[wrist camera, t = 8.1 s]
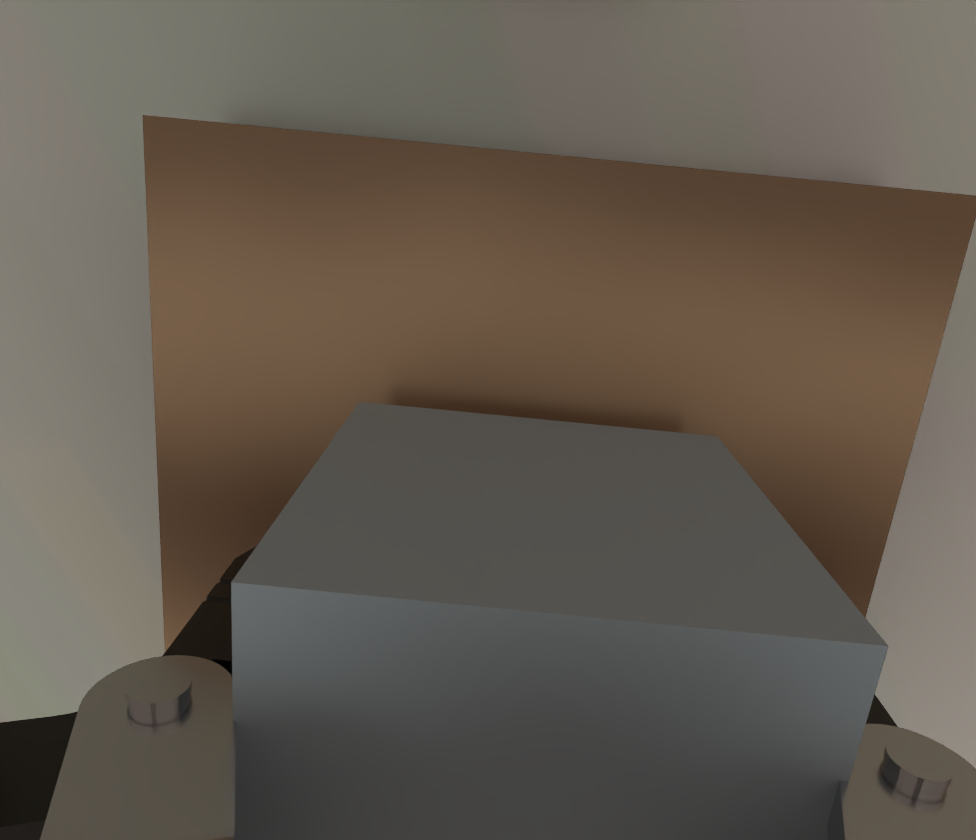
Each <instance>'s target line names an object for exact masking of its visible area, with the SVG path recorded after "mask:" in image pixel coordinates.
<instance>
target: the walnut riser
mask: <svg viewBox="0 0 976 840" xmlns="http://www.w3.org/2000/svg"><path fill="white" fill-rule="evenodd" d="M143 133H144V157H145V182H146V206H147V230H148V254H149V278H150V302H151V326H152V351H153V375H154V399H155V423H156V447H157V471H158V495H159V520H160V544H161V568H162V592H163V616H164V640H165V652H166V650H167V649H168V648H169V646H170V645H171V644H172V642H173V641H174V640H175V638H176V637H177V636H178V634H179V633H180V632H181V630H182V629H183V628H184V626H185V625H186V624H187V622H188V621H189V620H190V618H191V617H192V616H193V614H194V613H195V612H196V610H197V609H198V608H199V606H200V605H201V603H202V602H203V601H206V599H207V595H208V594H209V593H210V591H211V590H212V589H213V587H214V586H215V585H216V583H219V582H220V578H221V577H222V575H223V574H224V573H225V571H226V570H227V569H228V567H229V566H230V565H231V563H232V562H233V561H234V559H235V558H236V557H238V556H240V555H241V554H243V553H245V552H247V551H248V550H250V549H252V548H254V547H255V546H257V545H258V544H259V542H260V541H261V540H262V538H263V537H264V535H265V534H266V532H267V531H268V530H269V528H270V527H271V525H272V524H273V523H274V521H275V520H276V518H277V517H278V516H279V514H280V513H281V511H282V510H283V508H284V507H285V506H286V504H287V503H288V501H289V500H290V499H291V497H292V496H293V494H294V493H295V492H296V490H297V489H298V487H299V486H300V485H301V483H302V482H303V480H304V479H305V477H306V476H307V475H308V473H309V472H310V470H311V469H312V468H313V466H314V465H315V463H316V462H317V461H318V459H319V458H320V456H321V455H322V453H323V452H324V451H325V449H326V448H327V446H328V445H329V444H330V442H331V441H332V439H333V438H334V437H335V435H336V434H337V432H338V431H339V430H340V428H341V427H342V425H343V424H344V422H345V421H346V420H347V418H348V417H349V415H350V414H351V413H352V411H353V410H354V408H355V407H356V406H357V404H358V403H359V402H368V403H378V404H388V405H399V406H409V407H419V408H430V409H440V410H450V411H461V412H471V413H481V414H492V415H502V416H513V417H523V418H533V419H544V420H554V421H564V422H575V423H585V424H595V425H606V426H616V427H626V428H637V429H647V430H658V431H668V432H678V433H689V434H699V435H709V436H717V437H718V438H719V439H720V440H721V442H722V443H723V444H724V445H725V447H726V448H727V449H728V450H729V451H730V453H731V454H732V455H733V456H734V458H735V459H736V460H737V461H738V462H739V464H740V465H741V466H742V467H743V469H744V470H745V471H746V472H747V474H748V475H749V476H750V477H751V478H752V480H753V481H754V482H755V483H756V485H757V486H758V487H759V488H760V489H761V491H762V492H763V493H764V494H765V496H766V497H767V498H768V499H769V500H770V502H771V503H772V504H773V505H774V507H775V508H776V509H777V510H778V512H779V513H780V514H781V515H782V516H783V518H784V519H785V520H786V521H787V523H788V524H789V525H790V526H791V527H792V529H793V530H794V531H795V532H796V534H797V535H798V536H799V537H800V539H801V540H802V541H803V542H804V543H805V545H806V546H807V547H808V548H809V550H810V551H811V552H812V553H813V554H814V556H815V557H816V558H817V559H818V561H819V562H820V563H821V564H822V565H823V567H824V568H825V569H826V570H827V572H828V573H829V574H830V575H831V577H832V578H833V579H834V580H835V581H836V583H837V584H838V585H839V586H840V588H841V589H842V590H843V591H844V592H845V594H846V595H847V596H848V597H849V599H850V600H851V601H852V602H853V604H854V605H855V606H856V607H857V608H858V610H859V611H860V612H861V613H862V615H863V616H864V617H865V616H866V612H867V609H868V605H869V602H870V598H871V594H872V591H873V587H874V584H875V580H876V576H877V573H878V569H879V565H880V562H881V558H882V555H883V551H884V547H885V544H886V540H887V536H888V533H889V529H890V526H891V522H892V518H893V515H894V511H895V508H896V504H897V500H898V497H899V493H900V489H901V486H902V482H903V479H904V475H905V471H906V468H907V464H908V461H909V457H910V453H911V450H912V446H913V442H914V439H915V435H916V432H917V428H918V424H919V421H920V417H921V413H922V410H923V406H924V403H925V399H926V395H927V392H928V388H929V385H930V381H931V377H932V374H933V370H934V366H935V363H936V359H937V356H938V352H939V348H940V345H941V341H942V337H943V334H944V330H945V327H946V323H947V319H948V316H949V312H950V309H951V305H952V301H953V298H954V294H955V290H956V287H957V283H958V280H959V276H960V272H961V269H962V265H963V261H964V258H965V254H966V251H967V247H968V243H969V240H970V236H971V233H972V229H973V225H974V222H975V218H976V196H973V195H963V194H952V193H942V192H932V191H921V190H911V189H901V188H890V187H880V186H870V185H859V184H849V183H839V182H828V181H818V180H808V179H797V178H787V177H777V176H766V175H756V174H746V173H735V172H725V171H715V170H704V169H694V168H684V167H673V166H663V165H653V164H642V163H632V162H622V161H611V160H601V159H591V158H580V157H570V156H560V155H549V154H539V153H529V152H518V151H508V150H498V149H487V148H477V147H467V146H456V145H446V144H436V143H425V142H415V141H405V140H394V139H384V138H374V137H363V136H353V135H343V134H332V133H322V132H312V131H301V130H291V129H281V128H270V127H260V126H250V125H239V124H229V123H219V122H208V121H198V120H188V119H177V118H167V117H157V116H146V115H143Z"/></svg>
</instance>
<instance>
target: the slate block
mask: <svg viewBox="0 0 976 840" xmlns="http://www.w3.org/2000/svg"><path fill="white" fill-rule="evenodd" d="M231 611H232V693H233V721H236V840H828V832H827V822H828V819H829V815H830V812H831V808H832V805H833V801H834V798H835V795H836V791H837V788H838V784H839V781H840V780H842V781H849V780H850V776H851V773H852V770H853V766H854V763H855V759H856V756H857V752H858V749H859V745H860V742H861V739H862V735H863V732H864V728H865V725H866V721H867V718H868V714H869V711H870V708H871V704H872V701H873V697H874V694H875V690H876V687H877V683H878V680H879V677H880V673H881V670H882V666H883V663H884V659H885V656H886V652H887V649H888V645H887V644H886V643H885V642H884V640H883V639H882V638H881V637H880V635H879V634H878V633H877V632H876V630H875V629H874V628H873V627H872V626H871V624H870V623H869V622H868V621H867V619H866V618H865V617H864V616H863V615H862V613H861V612H860V611H859V610H858V608H857V607H856V606H855V605H854V604H853V602H852V601H851V600H850V599H849V597H848V596H847V595H846V594H845V592H844V591H843V590H842V589H841V588H840V586H839V585H838V584H837V583H836V581H835V580H834V579H833V578H832V577H831V575H830V574H829V573H828V572H827V570H826V569H825V568H824V567H823V565H822V564H821V563H820V562H819V561H818V559H817V558H816V557H815V556H814V554H813V553H812V552H811V551H810V550H809V548H808V547H807V546H806V545H805V543H804V542H803V541H802V540H801V539H800V537H799V536H798V535H797V534H796V532H795V531H794V530H793V529H792V527H791V526H790V525H789V524H788V523H787V521H786V520H785V519H784V518H783V516H782V515H781V514H780V513H779V512H778V510H777V509H776V508H775V507H774V505H773V504H772V503H771V502H770V500H769V499H768V498H767V497H766V496H765V494H764V493H763V492H762V491H761V489H760V488H759V487H758V486H757V485H756V483H755V482H754V481H753V480H752V478H751V477H750V476H749V475H748V474H747V472H746V471H745V470H744V469H743V467H742V466H741V465H740V464H739V462H738V461H737V460H736V459H735V458H734V456H733V455H732V454H731V453H730V451H729V450H728V449H727V448H726V447H725V445H724V444H723V443H722V442H721V440H720V439H719V438H718V437H717V436H709V435H699V434H689V433H678V432H668V431H658V430H647V429H637V428H626V427H616V426H606V425H595V424H585V423H575V422H564V421H554V420H544V419H533V418H523V417H513V416H502V415H492V414H481V413H471V412H461V411H450V410H440V409H430V408H419V407H409V406H399V405H388V404H378V403H368V402H359V403H358V404H357V406H356V407H355V408H354V410H353V411H352V413H351V414H350V415H349V417H348V418H347V420H346V421H345V422H344V424H343V425H342V427H341V428H340V430H339V431H338V432H337V434H336V435H335V437H334V438H333V439H332V441H331V442H330V444H329V445H328V446H327V448H326V449H325V451H324V452H323V453H322V455H321V456H320V458H319V459H318V461H317V462H316V463H315V465H314V466H313V468H312V469H311V470H310V472H309V473H308V475H307V476H306V477H305V479H304V480H303V482H302V483H301V485H300V486H299V487H298V489H297V490H296V492H295V493H294V494H293V496H292V497H291V499H290V500H289V501H288V503H287V504H286V506H285V507H284V508H283V510H282V511H281V513H280V514H279V516H278V517H277V518H276V520H275V521H274V523H273V524H272V525H271V527H270V528H269V530H268V531H267V532H266V534H265V535H264V537H263V538H262V540H261V541H260V542H259V544H258V545H257V547H256V548H255V549H254V551H253V552H252V554H251V555H250V556H249V558H248V559H247V561H246V562H245V563H244V565H243V566H242V568H241V569H240V571H239V572H238V573H237V575H236V576H235V578H234V579H233V580H232V582H231Z"/></svg>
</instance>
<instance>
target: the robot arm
mask: <svg viewBox="0 0 976 840" xmlns="http://www.w3.org/2000/svg"><path fill="white" fill-rule="evenodd" d="M256 547H257V546H255V547H254V548H252V549H250V550H248V551H247V552H245V553H243V554H241V555H240V556H238V557H236V558H235V559H234V561H233V562H232V563H231V565H230V566H229V567H228V569H227V570H226V571H225V573H224V574H223V575H222V577H221V578H220V582H219V583H216V585H215V586H214V587H213V589H212V590H211V591H210V593H209V594H208V595H207V599H206V601H203V602H202V603H201V605H200V606H199V608H198V609H197V610H196V612H195V613H194V614H193V616H192V617H191V618H190V620H189V621H188V622H187V624H186V625H185V626H184V628H183V629H182V630H181V632H180V633H179V634H178V636H177V637H176V638H175V640H174V641H173V642H172V644H171V645H170V646H169V648H168V649H167V650H166V652H165V653H164V655H163V656H161V657H154V658H150V659H145V660H141V661H138V662H135V663H132V664H129V665H127V666H124V667H122V668H120V669H118V670H116V671H114V672H112V673H110V674H109V675H107V676H105V677H104V678H103V679H101V680H100V681H99V682H97V683H96V684H95V685H94V686H93V687H92V688H91V689H90V690H89V691H88V692H87V694H86V695H85V697H84V698H83V699H82V702H81V704H80V706H79V709H78V712H74V713H70V714H64V715H58V716H52V717H44V718H35V719H27V720H19V721H11V722H2V723H0V840H236V721H233V693H232V611H231V582H232V580H233V579H234V578H235V576H236V575H237V573H238V572H239V571H240V569H241V568H242V566H243V565H244V563H245V562H246V561H247V559H248V558H249V556H250V555H251V554H252V552H253V551H254V549H255V548H256ZM827 832H828V840H976V768H974V767H973V766H972V765H971V764H970V763H969V762H968V761H966V760H965V759H964V758H962V757H961V756H959V755H958V754H957V753H955V752H954V751H952V750H950V749H949V748H947V747H945V746H944V745H942V744H940V743H938V742H936V741H934V740H932V739H930V738H928V737H926V736H923V735H921V734H918V733H916V732H913V731H910V730H907V729H904V728H899V727H898V726H897V725H896V724H895V722H894V721H893V719H892V718H891V717H890V715H889V714H888V712H887V711H886V710H885V708H884V707H883V705H882V704H881V703H880V701H879V700H878V698H877V697H876V696H875V694H874V697H873V701H872V704H871V708H870V711H869V714H868V718H867V721H866V725H865V728H864V732H863V735H862V739H861V742H860V745H859V749H858V752H857V756H856V759H855V763H854V766H853V770H852V773H851V776H850V780H849V781H842V780H840V781H839V784H838V788H837V791H836V795H835V798H834V801H833V805H832V808H831V812H830V815H829V819H828V822H827Z"/></svg>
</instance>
